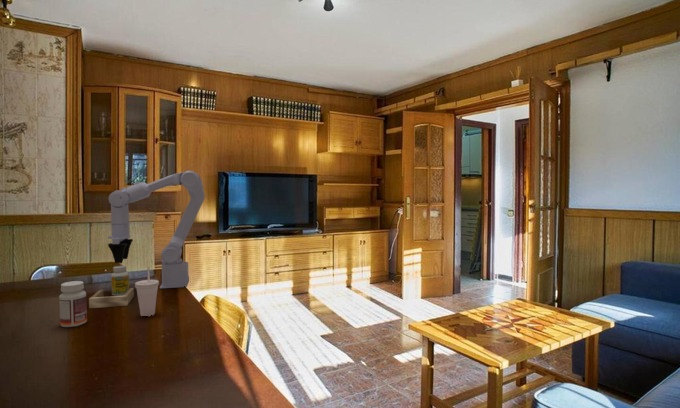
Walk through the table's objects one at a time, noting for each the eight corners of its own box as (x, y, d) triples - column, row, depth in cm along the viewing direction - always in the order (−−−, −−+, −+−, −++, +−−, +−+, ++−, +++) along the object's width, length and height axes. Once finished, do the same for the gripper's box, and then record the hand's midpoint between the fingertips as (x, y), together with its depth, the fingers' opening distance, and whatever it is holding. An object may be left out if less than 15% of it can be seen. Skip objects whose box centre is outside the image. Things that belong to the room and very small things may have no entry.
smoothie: (164, 312, 117) (163, 266, 117) (145, 319, 111) (144, 270, 111) (149, 309, 120) (148, 264, 119) (130, 316, 114) (129, 268, 113)
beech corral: (134, 296, 134) (133, 287, 134) (126, 305, 124) (126, 296, 124) (99, 298, 131) (99, 289, 131) (89, 308, 121) (89, 298, 121)
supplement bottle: (126, 290, 141) (126, 264, 140) (131, 293, 137) (130, 266, 136) (109, 293, 137) (109, 266, 136) (114, 296, 133) (113, 268, 133)
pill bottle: (88, 318, 112) (87, 279, 111) (85, 325, 106) (84, 284, 106) (62, 321, 109) (61, 281, 109) (57, 329, 104) (56, 287, 103)
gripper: (113, 222, 148) (114, 257, 149) (101, 226, 134) (103, 265, 135) (134, 221, 150) (135, 256, 151) (124, 225, 136) (126, 264, 137)
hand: (121, 260), depth 143 cm, fingers open, 7 cm apart
